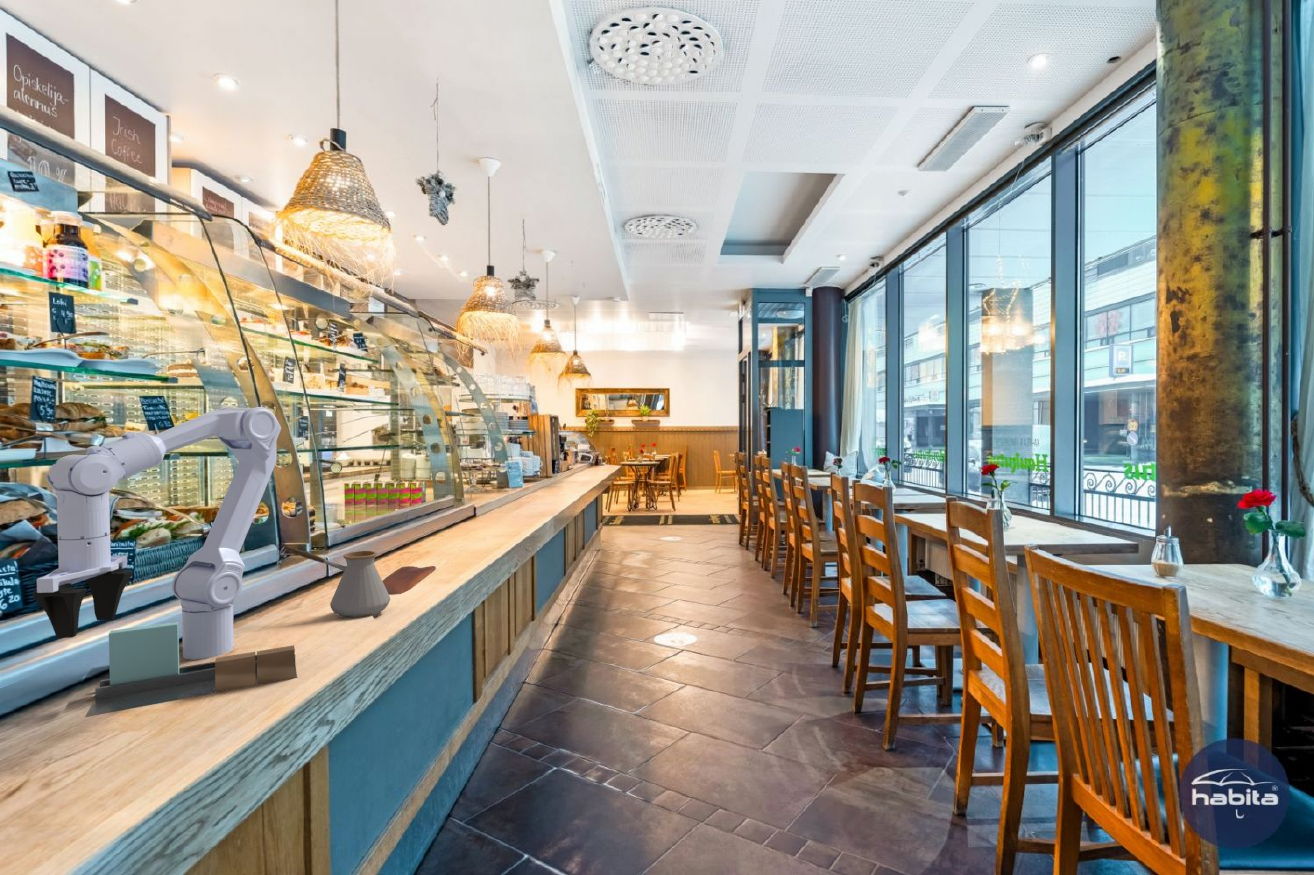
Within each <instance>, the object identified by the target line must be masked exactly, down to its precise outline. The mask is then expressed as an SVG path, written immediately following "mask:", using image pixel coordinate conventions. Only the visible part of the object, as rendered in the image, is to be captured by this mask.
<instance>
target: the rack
mask: <svg viewBox="0 0 1314 875" xmlns="http://www.w3.org/2000/svg"><path fill="white" fill-rule="evenodd" d="M255 666H256V685H253V686H248V687H247V688H249V687H250V688H251V687H255V686H260V685H262V684H258V685H257V654H255ZM296 666H297V664H296V662H295V678H291V679H290V680H292V679H298V675H297V673H298V672H297V667H296ZM288 680H289V679H285V680H280V681H275V682H274V683H278V682H282V681H288ZM271 683H273V682H269V683H264V684H263V685H265V684H271ZM244 688H246V687H242V688H237V689H236V690H238V689H244ZM233 690H235V689H231V690H226V691H221V692H220V693H223V692H227V691H233ZM218 693H219V692H216V688H215V661H208V662H203V663H199V664H193V665H192V664H191V665H186V666H179V674H175V675H169V676H163V677H157V678H151V679H145V680H139V681H133V682H127V683H121V684H115V685H110V678H106V679H100V681H99V686H98V687H95V688H94V694H95V695H94V696H95V700H94V701H93V703H92V705H91V706H90V708H89V710H88V712H87V713H86V715H85V718H88V717H94V716H99V715H103V714H104V715H105V714H109V713H116V712H120V711H126V710H131V709H137V708H142V707H148V706H153V705H159V704H164V703H169V702H174V701H180V700H187V699H191V698H196V697H201V696H207V695H212V694H218Z"/></svg>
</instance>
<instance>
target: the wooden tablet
mask: <svg viewBox="0 0 1314 875" xmlns="http://www.w3.org/2000/svg"><path fill="white" fill-rule="evenodd" d="M436 569H437V566H435V565H430V566H424V567H418V566H413V565H412V566H411V565H407V566H401V567H400V568H398V569H396V570H395V571H393V572H392V573H390V574H389V575H388V576H386V577H384V579H382V581H383V583H384V586H385V588H386V590H387V592H388V594H389V596H395V595H401V594H404V593H406V592H408V591H411V589H413V588H414V587H416V585H417V584H419V583H420V582H421V581H422V580H423V579H425V578H426V577H427V576H429V575H430V574H432V573H433V572H434V571H435V570H436Z"/></svg>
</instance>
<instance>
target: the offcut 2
mask: <svg viewBox="0 0 1314 875" xmlns="http://www.w3.org/2000/svg"><path fill="white" fill-rule="evenodd" d="M295 650H296V649H295V645H294V644H293V645H287V646H282V647H276V648H270V649H269V648H268V649H263V650H257V651H256V655H257V685H256V686H259V685H258V684H261V685H265V684H264V683H267V684H270V683H269V682H272V683H276V682H275V681H278V682H281V681H280V680H283V681H286V680H285V679H288V680H292V679H291V678H294V679H296V678H295V663H296V654H295Z"/></svg>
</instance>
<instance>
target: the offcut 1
mask: <svg viewBox="0 0 1314 875" xmlns="http://www.w3.org/2000/svg"><path fill="white" fill-rule="evenodd" d="M255 655H256V651H250V652H245V653H238V654H232V655H231V654H230V655H225V656H217V657H215V660H214V662H215V688H216V692H218V693H222V692H221V691H224V692H227V691H226V690H229V691H232V690H231V689H234V690H238V689H237V688H240V689H243V688H242V687H245V688H249V687H248V686H251V687H254V686H253V685H256V666H255ZM256 686H257V685H256Z"/></svg>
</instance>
